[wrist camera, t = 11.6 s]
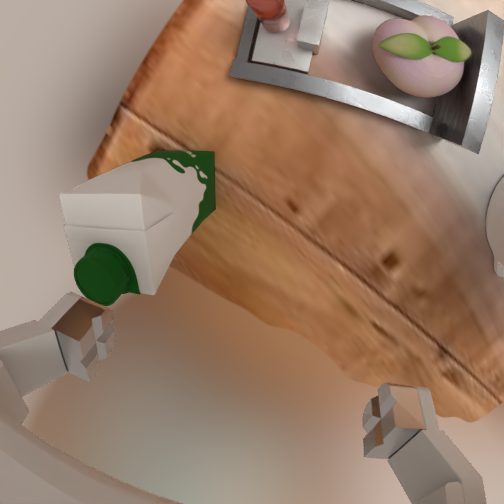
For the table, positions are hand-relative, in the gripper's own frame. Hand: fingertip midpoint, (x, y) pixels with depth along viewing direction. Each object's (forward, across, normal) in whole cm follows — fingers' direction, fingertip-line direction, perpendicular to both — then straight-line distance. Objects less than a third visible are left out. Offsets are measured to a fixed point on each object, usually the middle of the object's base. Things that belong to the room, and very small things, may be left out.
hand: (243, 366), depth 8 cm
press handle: (+29, +4, -15) cm, 33 cm away
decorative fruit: (+29, -9, -15) cm, 34 cm away
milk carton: (+29, +12, +5) cm, 32 cm away
